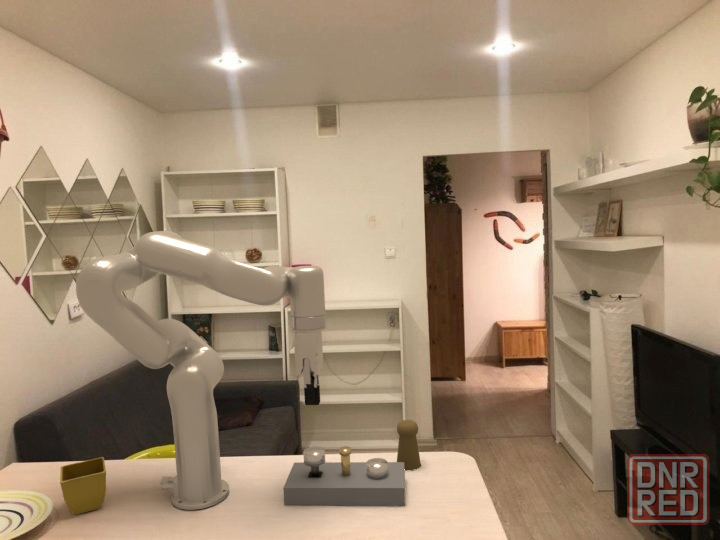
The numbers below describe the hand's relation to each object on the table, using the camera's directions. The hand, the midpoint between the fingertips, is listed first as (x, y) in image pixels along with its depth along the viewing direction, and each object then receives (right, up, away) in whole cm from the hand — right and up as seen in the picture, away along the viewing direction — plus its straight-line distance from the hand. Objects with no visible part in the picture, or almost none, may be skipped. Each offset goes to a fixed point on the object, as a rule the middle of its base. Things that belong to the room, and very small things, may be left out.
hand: (312, 403), depth 121 cm
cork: (+22, -19, +13) cm, 32 cm away
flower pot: (-50, -23, -1) cm, 55 cm away
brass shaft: (+7, -16, +1) cm, 18 cm away
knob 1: (0, -17, +2) cm, 17 cm away
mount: (+8, -20, +2) cm, 22 cm away
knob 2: (+15, -20, +1) cm, 24 cm away
